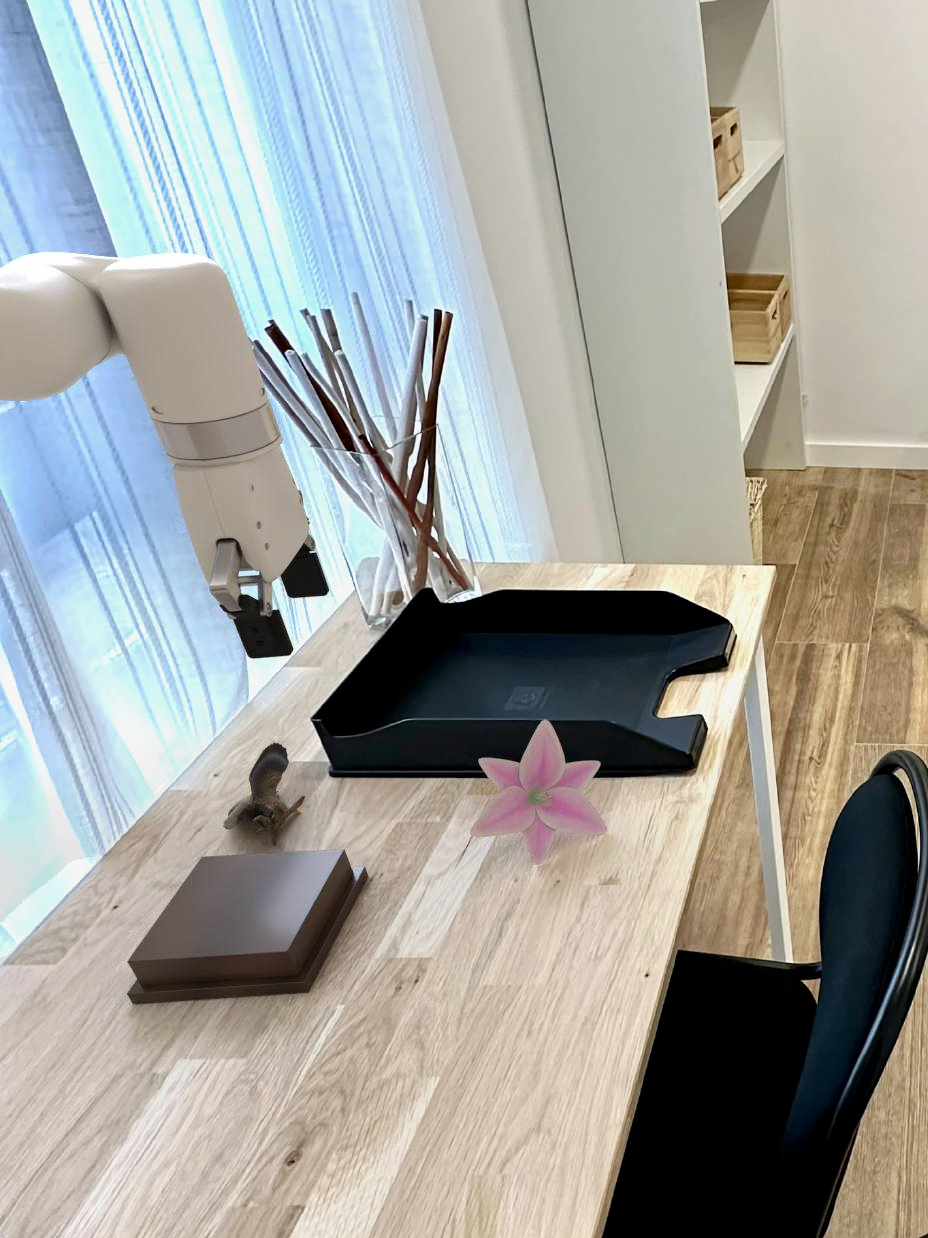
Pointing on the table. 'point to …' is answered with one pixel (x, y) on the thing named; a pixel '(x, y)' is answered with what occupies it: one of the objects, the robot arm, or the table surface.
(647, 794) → the table surface
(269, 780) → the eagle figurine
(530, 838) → the lily
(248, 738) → the table surface
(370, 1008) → the table surface
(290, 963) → the display stand
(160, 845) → the table surface
